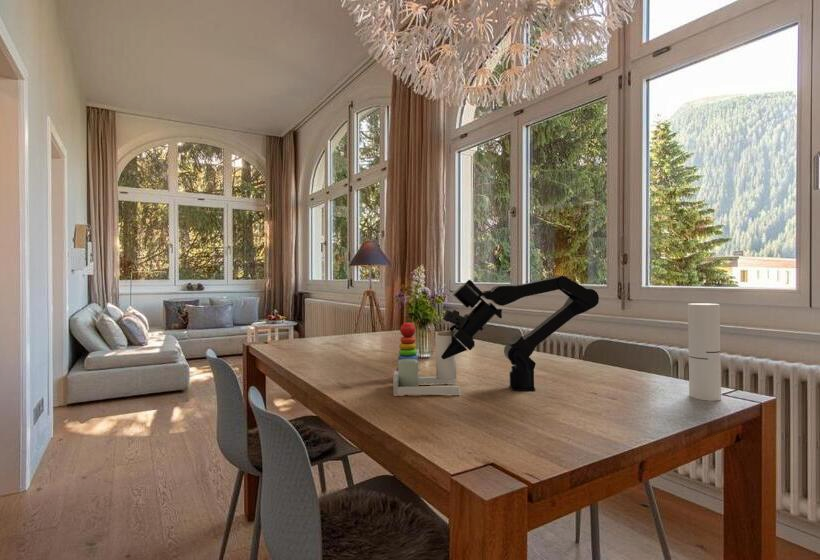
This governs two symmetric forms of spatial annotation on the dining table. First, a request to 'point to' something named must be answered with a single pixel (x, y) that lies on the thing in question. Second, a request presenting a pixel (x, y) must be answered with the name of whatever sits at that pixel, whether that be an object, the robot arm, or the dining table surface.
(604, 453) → the dining table surface
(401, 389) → the white u-shaped frame
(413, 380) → the grey-green cylinder
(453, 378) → the cream jar
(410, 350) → the stacking toy
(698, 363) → the cylindrical container
